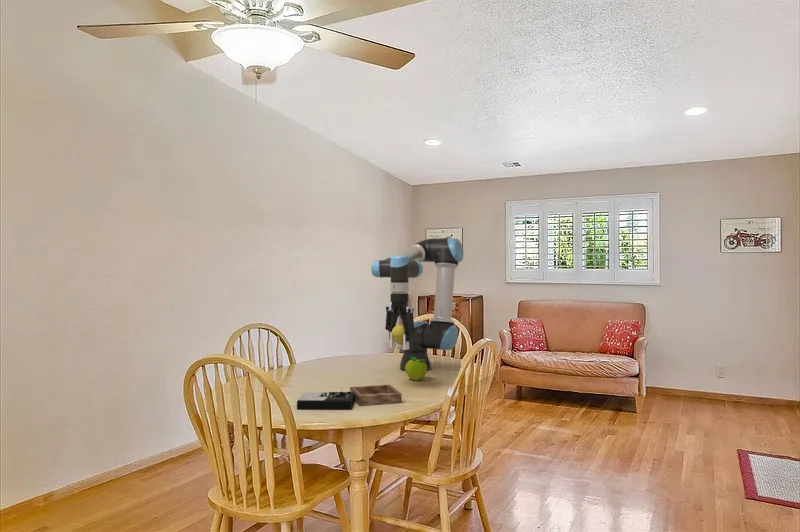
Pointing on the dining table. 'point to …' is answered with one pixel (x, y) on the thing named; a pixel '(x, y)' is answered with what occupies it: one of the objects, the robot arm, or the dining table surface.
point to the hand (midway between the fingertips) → (399, 348)
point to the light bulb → (398, 336)
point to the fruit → (416, 368)
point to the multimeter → (326, 401)
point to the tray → (376, 395)
